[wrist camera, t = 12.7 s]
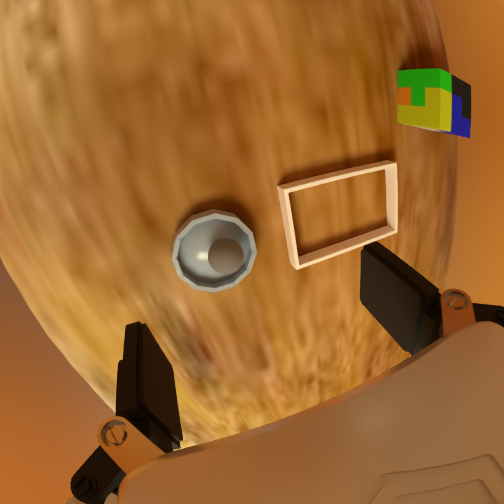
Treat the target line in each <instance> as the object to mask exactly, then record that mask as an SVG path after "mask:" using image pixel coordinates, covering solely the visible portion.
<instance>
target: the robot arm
mask: <svg viewBox="0 0 504 504" xmlns="http://www.w3.org/2000/svg"><path fill="white" fill-rule="evenodd" d="M360 300H361V302H362V304H363V305H364V306H365V307H366V309H367V310H368V311H369V312H370V313H371V314H372V315H373V316H374V317H375V318H376V320H377V321H378V322H379V323H380V324H381V325H382V326H383V327H384V328H385V330H386V331H387V332H388V333H389V334H390V335H391V336H392V337H393V339H394V340H395V341H396V342H397V343H398V344H399V345H400V347H401V348H402V349H403V350H404V351H406V352H407V351H408V352H409V353H410V354H411V355H412V356H411V357H409V358H408V359H406V360H404V361H403V362H401V363H399V364H397V365H396V366H394V367H392V368H391V369H389V370H387V371H385V372H383V373H382V374H380V375H378V376H376V377H374V378H372V379H370V380H368V381H367V382H365V383H363V384H361V385H359V386H357V387H355V388H353V389H351V390H349V391H347V392H344V393H342V394H340V395H338V396H336V397H334V398H332V399H329V400H327V401H325V402H323V403H320V404H318V405H316V406H313V407H311V408H309V409H306V410H304V411H301V412H299V413H296V414H294V415H291V416H288V417H286V418H283V419H280V420H278V421H275V422H272V423H269V424H266V425H264V426H261V427H258V428H255V429H251V430H248V431H245V432H242V433H238V434H235V435H232V436H228V437H225V438H221V439H218V440H214V441H211V442H207V443H203V444H199V445H195V446H191V447H187V448H184V449H180V450H176V451H173V450H174V449H179V448H181V447H180V442H179V441H182V440H183V435H182V429H181V423H180V417H179V410H178V403H177V396H176V388H175V380H174V372H173V368H172V366H171V364H170V362H169V361H168V359H167V358H166V356H165V354H164V353H163V351H162V350H161V348H160V347H159V345H158V343H157V342H156V340H155V338H154V337H153V335H152V333H151V332H150V330H149V328H148V327H147V325H146V324H141V322H139V321H138V322H135V323H132V324H128V325H126V328H125V339H124V351H123V360H120V361H119V363H118V371H117V389H116V416H113V417H110V418H108V419H106V420H105V421H104V422H103V423H102V424H101V425H100V427H99V430H98V434H97V438H98V442H99V443H100V446H99V447H98V448H97V449H96V450H95V451H94V452H93V454H92V455H91V456H90V457H89V458H88V459H87V460H86V462H85V463H84V464H83V465H82V466H81V467H80V468H79V470H78V471H77V472H76V473H75V474H74V476H73V477H72V479H71V491H72V494H73V497H72V499H71V498H68V500H67V503H66V504H504V307H503V306H496V305H487V304H478V303H472V301H471V299H470V297H469V296H468V295H467V293H465V292H464V291H462V290H459V289H448V290H445V291H444V292H443V293H442V295H441V294H440V293H439V289H438V288H437V287H436V286H434V285H433V284H432V283H431V282H429V281H428V280H427V279H426V278H425V277H423V276H422V275H421V274H419V273H418V272H417V271H416V270H414V269H413V268H412V267H411V266H409V265H408V264H407V263H405V262H404V261H403V260H401V259H400V258H399V257H398V256H396V255H395V254H394V253H392V252H391V251H390V250H388V249H387V248H385V247H384V246H383V245H381V244H380V243H379V242H377V241H374V242H372V243H369V244H366V245H364V247H363V250H362V251H361V278H360Z"/></svg>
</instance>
